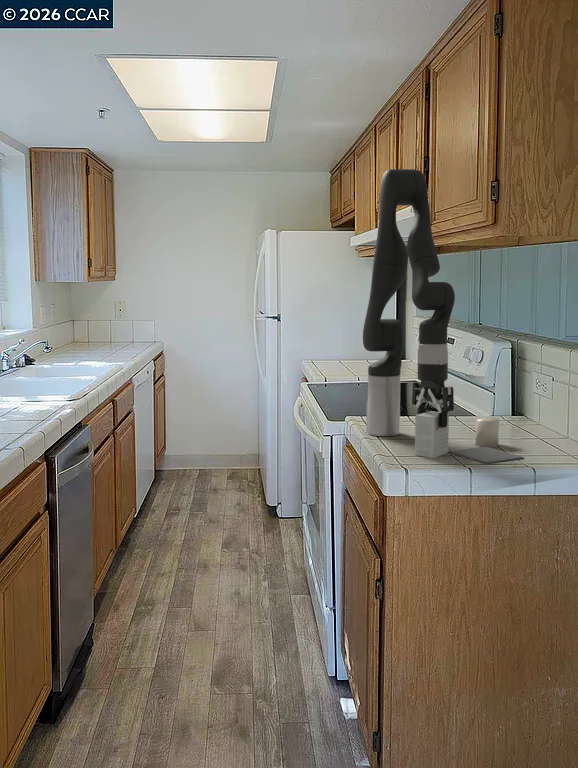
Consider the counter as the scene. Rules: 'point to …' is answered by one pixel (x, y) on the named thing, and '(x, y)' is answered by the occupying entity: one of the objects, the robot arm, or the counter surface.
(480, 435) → the beige rounded block
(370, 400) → the robot arm
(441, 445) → the small box
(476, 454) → the mat
